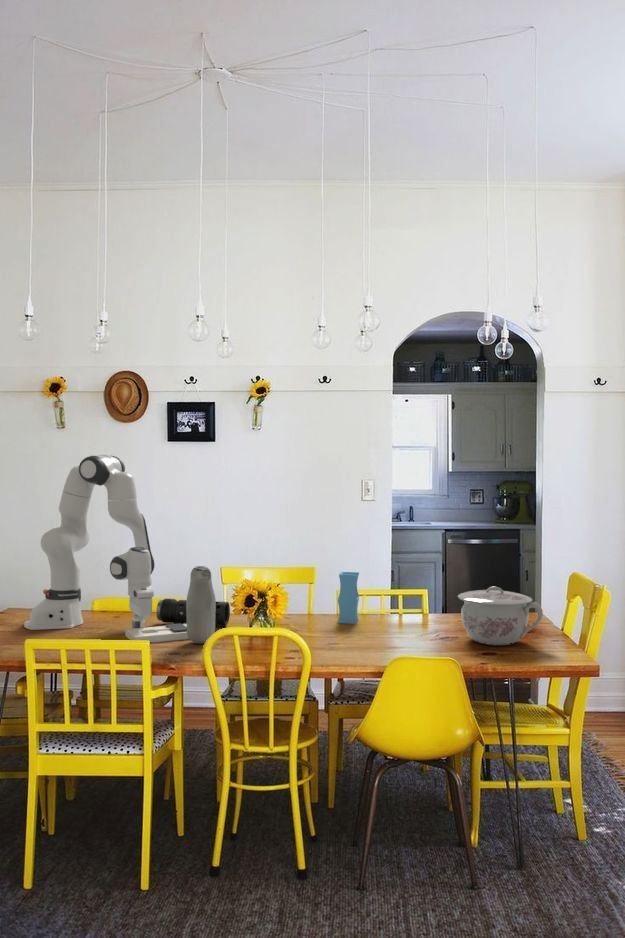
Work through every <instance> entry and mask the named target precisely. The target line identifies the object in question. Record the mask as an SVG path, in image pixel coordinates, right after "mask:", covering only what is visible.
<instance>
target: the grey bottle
mask: <svg viewBox="0 0 625 938" xmlns="http://www.w3.org/2000/svg"><path fill="white" fill-rule="evenodd" d="M189 576H190V580H189V581H190V582H189V587H188V589H187V590H188V591H187V595H186V600H187V601H186V613H187V634H188V637H189V639H188V640H190V641H191V642H192V643H194V644H197V645H205V644H206V643H205V642H206V640H207V639H208V638H209V637H210V636H211V635H212V634H213V633H214V634H215V631H216V626H215V610H216V602H217V601H216V595H215V590H214V588H213V587H214V586H213V581H212V572H211V570H210V568H209V567H207V566H204V565H203V566H202V565H197V566H195V567H193V568H192V570H191V572H190V575H189Z"/></svg>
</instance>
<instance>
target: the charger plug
mask: <svg viewBox="0 0 625 938" xmlns="http://www.w3.org/2000/svg"><path fill="white" fill-rule="evenodd" d="M131 618H132V621H131V622H132V624H131V626H132V628H131V629H135V628H140V625H139V623H140V616H134V615H132V617H131Z"/></svg>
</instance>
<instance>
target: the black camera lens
mask: <svg viewBox="0 0 625 938" xmlns="http://www.w3.org/2000/svg"><path fill="white" fill-rule="evenodd" d="M186 601H187V599H179V600H177V599H175V598H163V599H159V600H158V602H157V605H156V612H155V613H156V619H157V621H161V622H162V623H167V624H179V623H181V624H187V613H186ZM230 614H231V607H230V602H228V601H216V610H215V627H222V628H224V627H227V625H228V624H229V621H230V617H231V615H230Z"/></svg>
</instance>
